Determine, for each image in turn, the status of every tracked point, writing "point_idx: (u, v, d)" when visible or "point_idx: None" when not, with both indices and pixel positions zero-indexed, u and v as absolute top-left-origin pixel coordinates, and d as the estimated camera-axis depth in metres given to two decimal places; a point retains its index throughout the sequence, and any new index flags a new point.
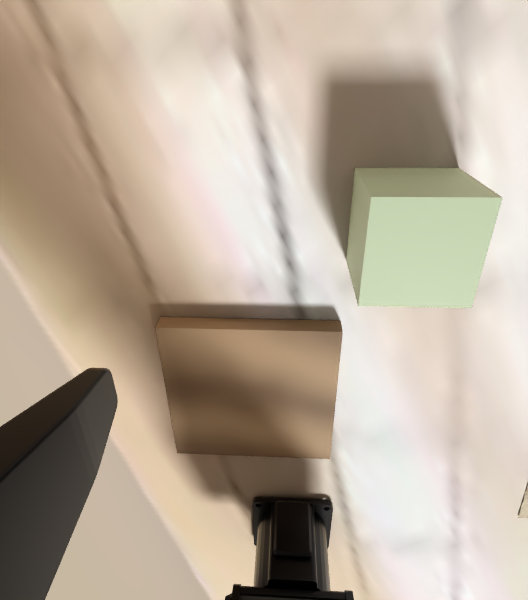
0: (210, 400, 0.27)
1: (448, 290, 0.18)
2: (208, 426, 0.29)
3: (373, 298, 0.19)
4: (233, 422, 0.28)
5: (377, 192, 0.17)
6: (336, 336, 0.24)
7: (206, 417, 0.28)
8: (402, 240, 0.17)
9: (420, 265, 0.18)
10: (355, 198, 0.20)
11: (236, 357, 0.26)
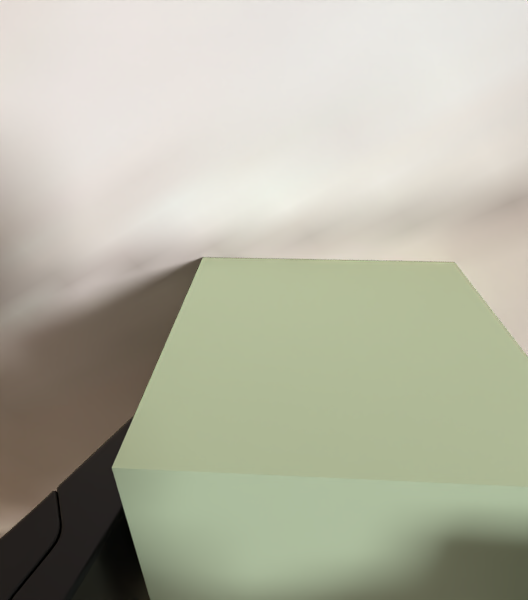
0: None
1: (501, 553, 0.05)
2: None
3: None
4: None
5: None
6: None
7: None
8: None
9: None
10: None
11: None
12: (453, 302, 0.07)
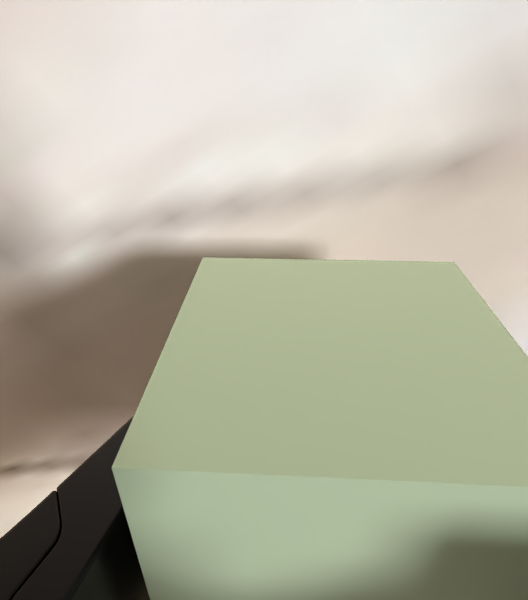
0: None
1: (501, 553, 0.05)
2: None
3: None
4: None
5: None
6: None
7: None
8: None
9: None
10: None
11: None
12: (453, 302, 0.07)
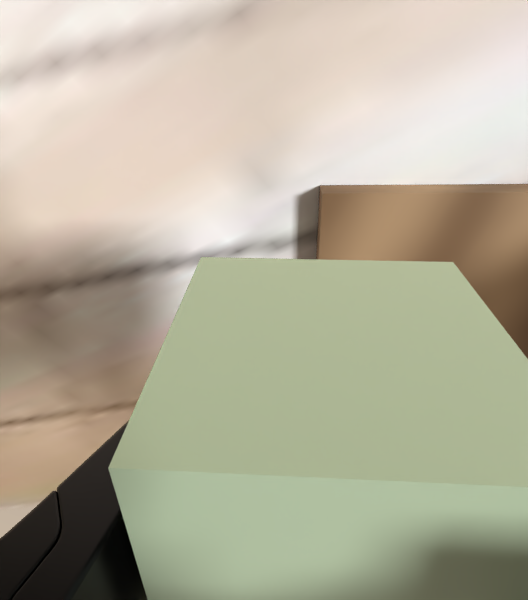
0: None
1: (499, 553, 0.05)
2: None
3: None
4: None
5: None
6: (329, 201, 0.17)
7: None
8: None
9: None
10: None
11: None
12: (451, 302, 0.07)
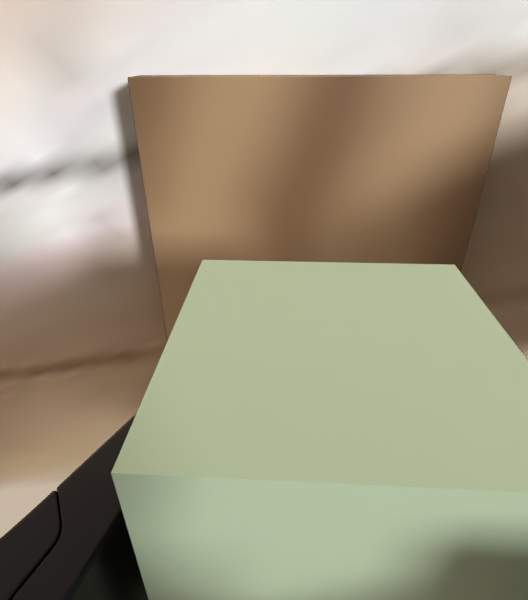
0: None
1: (501, 558, 0.05)
2: None
3: None
4: None
5: None
6: (139, 89, 0.12)
7: None
8: None
9: None
10: None
11: None
12: (453, 305, 0.07)
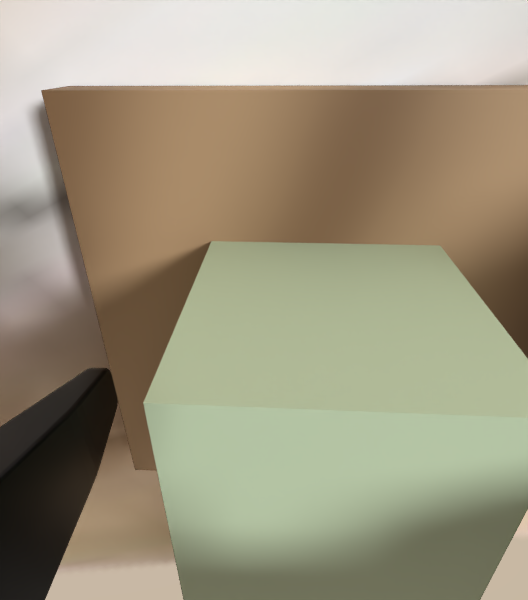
0: None
1: (471, 480, 0.05)
2: None
3: None
4: None
5: None
6: (61, 109, 0.08)
7: None
8: (286, 567, 0.07)
9: (363, 538, 0.06)
10: None
11: None
12: (437, 278, 0.08)
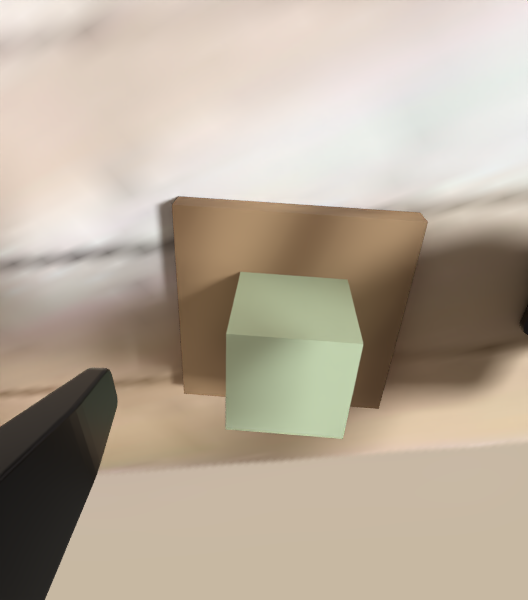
0: None
1: (335, 367, 0.16)
2: None
3: (335, 427, 0.17)
4: None
5: None
6: (179, 212, 0.18)
7: None
8: (269, 407, 0.17)
9: (299, 392, 0.17)
10: None
11: (219, 327, 0.21)
12: (339, 295, 0.18)
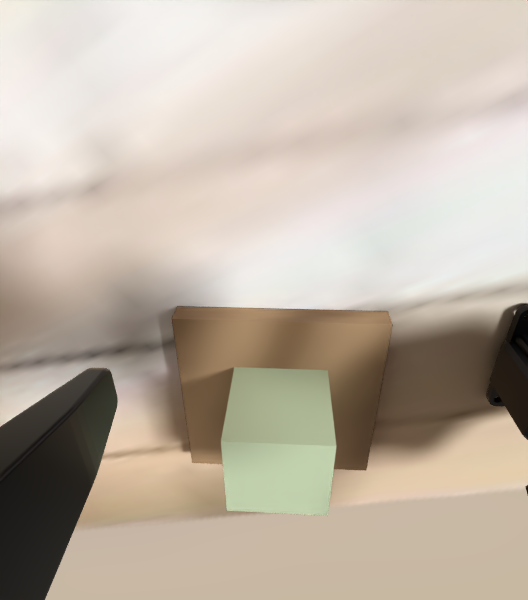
0: None
1: (314, 463, 0.19)
2: None
3: (320, 507, 0.20)
4: None
5: None
6: (178, 324, 0.21)
7: None
8: (262, 493, 0.20)
9: (286, 482, 0.19)
10: None
11: (220, 410, 0.24)
12: (319, 390, 0.21)
